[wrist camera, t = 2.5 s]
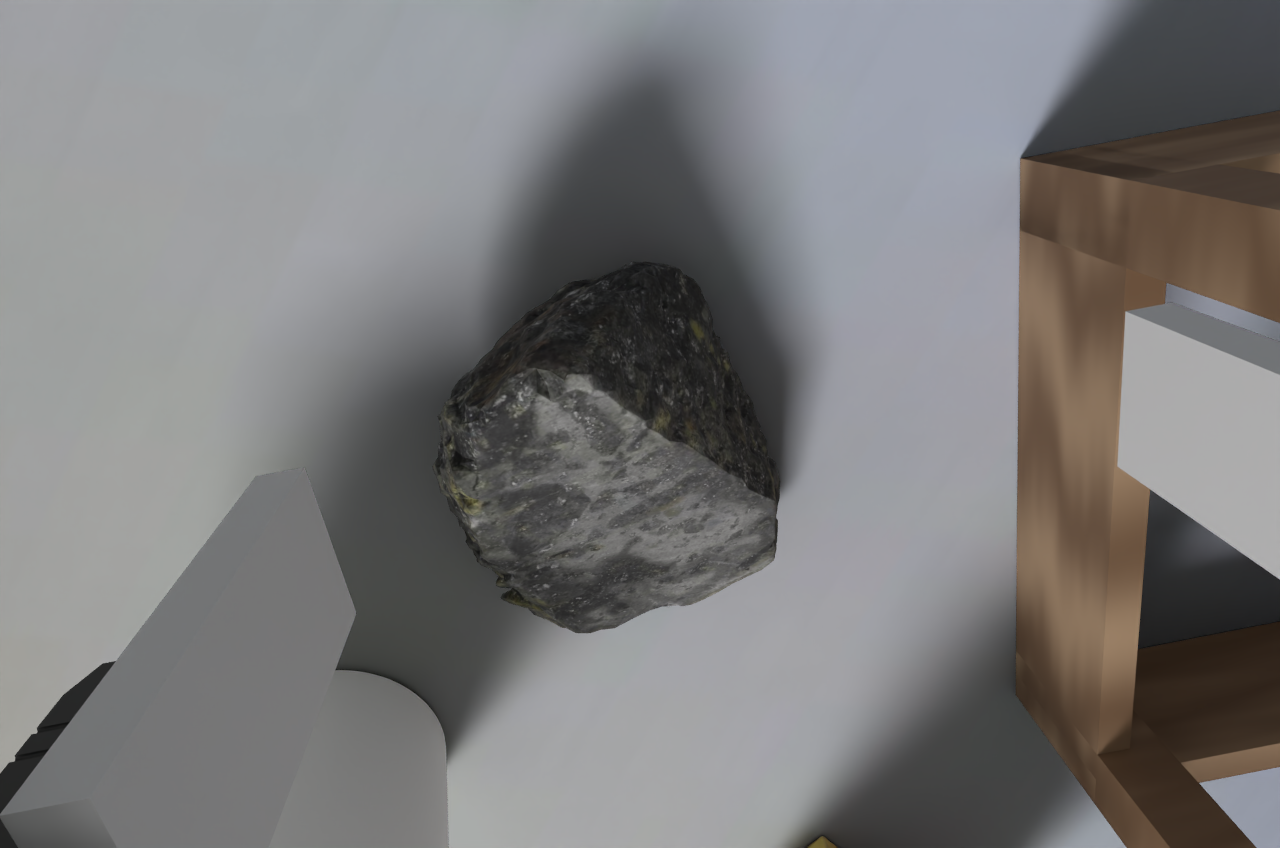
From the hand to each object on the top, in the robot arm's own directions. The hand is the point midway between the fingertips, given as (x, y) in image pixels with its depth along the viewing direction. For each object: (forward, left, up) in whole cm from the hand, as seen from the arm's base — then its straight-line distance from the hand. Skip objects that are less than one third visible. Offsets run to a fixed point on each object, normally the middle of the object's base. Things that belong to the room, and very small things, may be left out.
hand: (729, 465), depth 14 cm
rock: (-1, 0, -11) cm, 11 cm away
